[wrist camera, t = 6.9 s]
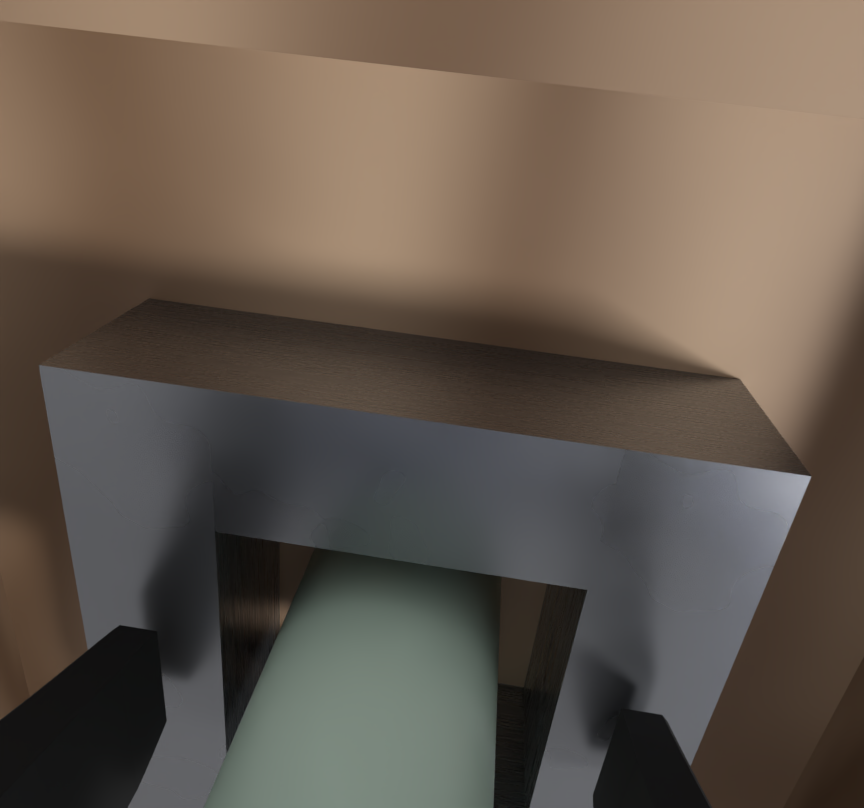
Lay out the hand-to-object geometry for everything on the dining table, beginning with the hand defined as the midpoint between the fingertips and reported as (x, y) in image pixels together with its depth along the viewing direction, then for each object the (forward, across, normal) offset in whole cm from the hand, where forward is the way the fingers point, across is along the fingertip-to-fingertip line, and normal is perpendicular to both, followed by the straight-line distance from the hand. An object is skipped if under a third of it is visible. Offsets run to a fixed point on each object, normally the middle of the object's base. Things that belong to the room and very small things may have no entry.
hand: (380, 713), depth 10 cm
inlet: (+4, 0, 0) cm, 4 cm away
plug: (+3, 0, 0) cm, 3 cm away
